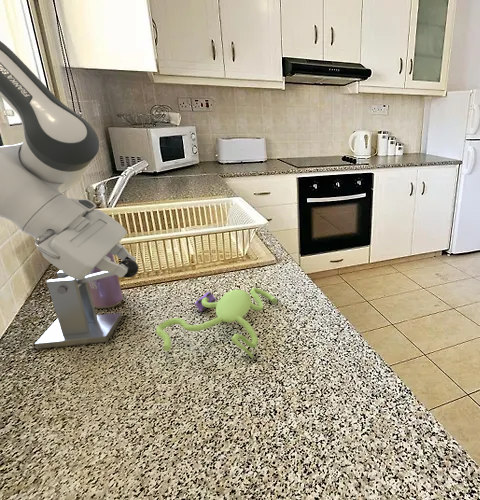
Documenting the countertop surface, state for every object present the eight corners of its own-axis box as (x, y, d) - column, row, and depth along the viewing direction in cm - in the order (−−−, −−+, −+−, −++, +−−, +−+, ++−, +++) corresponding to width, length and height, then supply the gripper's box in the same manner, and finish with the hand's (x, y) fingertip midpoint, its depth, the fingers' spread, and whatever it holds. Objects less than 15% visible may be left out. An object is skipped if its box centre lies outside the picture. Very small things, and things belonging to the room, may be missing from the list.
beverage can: (129, 299, 88) (116, 239, 83) (106, 311, 83) (91, 248, 78) (110, 294, 90) (96, 236, 85) (87, 306, 85) (70, 244, 79)
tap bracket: (122, 317, 81) (109, 263, 76) (107, 341, 73) (92, 282, 68) (58, 323, 78) (41, 267, 74) (36, 349, 70) (15, 288, 66)
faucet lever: (143, 270, 76) (136, 254, 74) (138, 277, 72) (131, 261, 71) (69, 289, 74) (60, 273, 72) (61, 297, 70) (51, 281, 69)
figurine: (147, 365, 67) (141, 338, 65) (206, 294, 91) (204, 273, 89) (249, 370, 66) (246, 343, 64) (281, 297, 91) (280, 276, 89)
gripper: (40, 228, 58) (123, 279, 64) (92, 197, 76) (152, 239, 82) (15, 256, 58) (99, 305, 64) (73, 219, 77) (134, 259, 83)
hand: (129, 268), depth 73 cm, fingers closed on faucet lever, 3 cm apart
